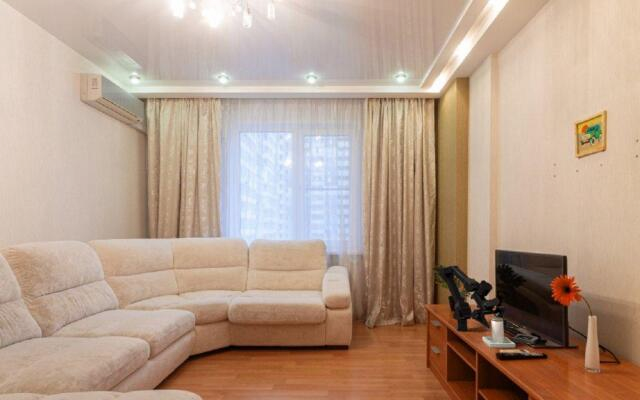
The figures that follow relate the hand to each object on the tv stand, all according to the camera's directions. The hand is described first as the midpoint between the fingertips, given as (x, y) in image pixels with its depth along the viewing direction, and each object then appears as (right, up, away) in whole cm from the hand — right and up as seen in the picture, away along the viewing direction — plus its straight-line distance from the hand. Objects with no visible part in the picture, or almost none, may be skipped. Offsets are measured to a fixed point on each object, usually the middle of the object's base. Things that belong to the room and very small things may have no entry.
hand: (497, 327), depth 197 cm
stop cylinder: (0, -8, -1) cm, 8 cm away
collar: (+16, -8, +3) cm, 18 cm away
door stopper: (+23, -10, +32) cm, 40 cm away
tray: (0, -8, -1) cm, 8 cm away
